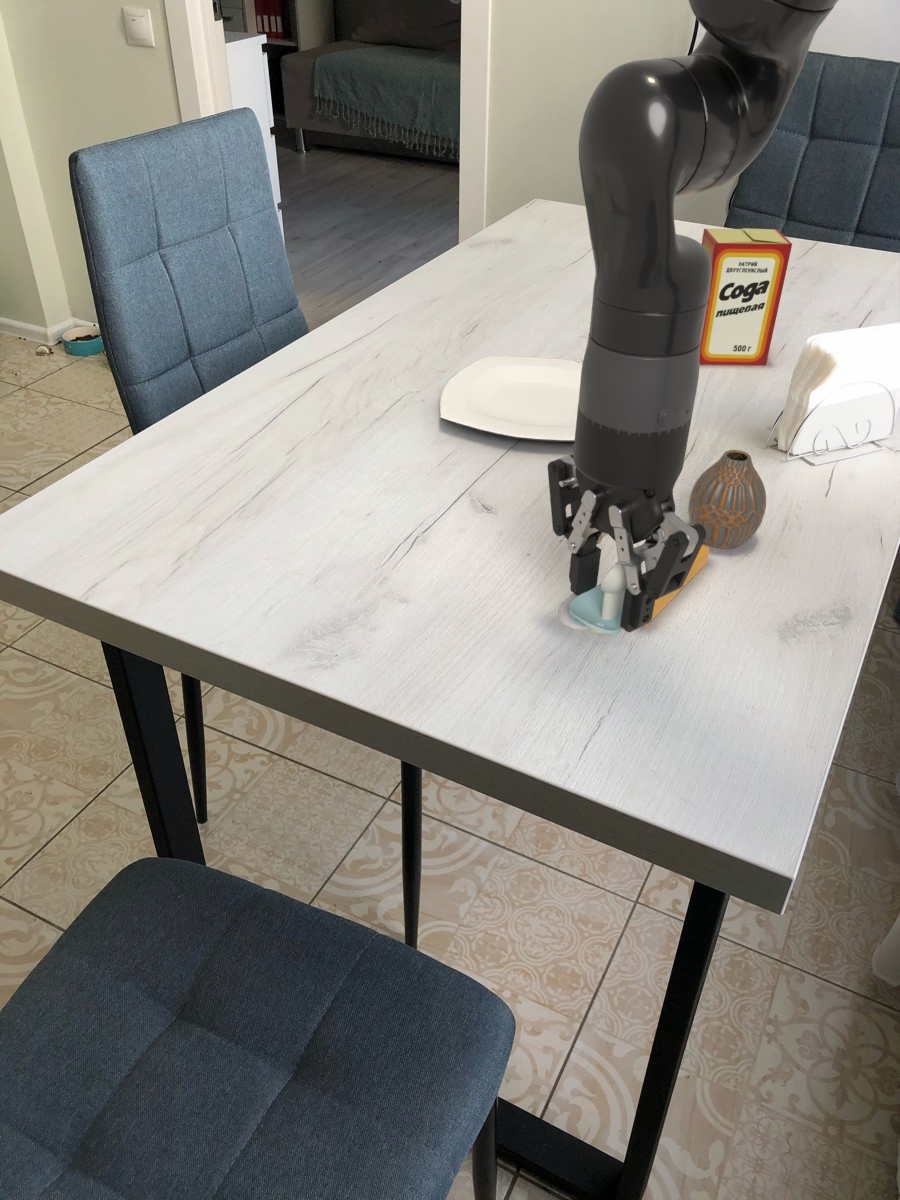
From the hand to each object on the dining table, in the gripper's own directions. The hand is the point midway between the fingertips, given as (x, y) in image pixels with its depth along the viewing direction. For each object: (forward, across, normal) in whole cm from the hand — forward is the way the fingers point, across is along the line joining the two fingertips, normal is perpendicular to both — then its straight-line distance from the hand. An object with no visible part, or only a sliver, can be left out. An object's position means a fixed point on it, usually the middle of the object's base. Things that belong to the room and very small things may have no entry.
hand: (607, 607), depth 72 cm
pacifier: (+2, +1, 0) cm, 2 cm away
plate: (+5, +39, -26) cm, 47 cm away
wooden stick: (+5, +4, -12) cm, 13 cm away
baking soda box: (+5, +38, -58) cm, 69 cm away
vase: (+5, +7, -22) cm, 24 cm away
